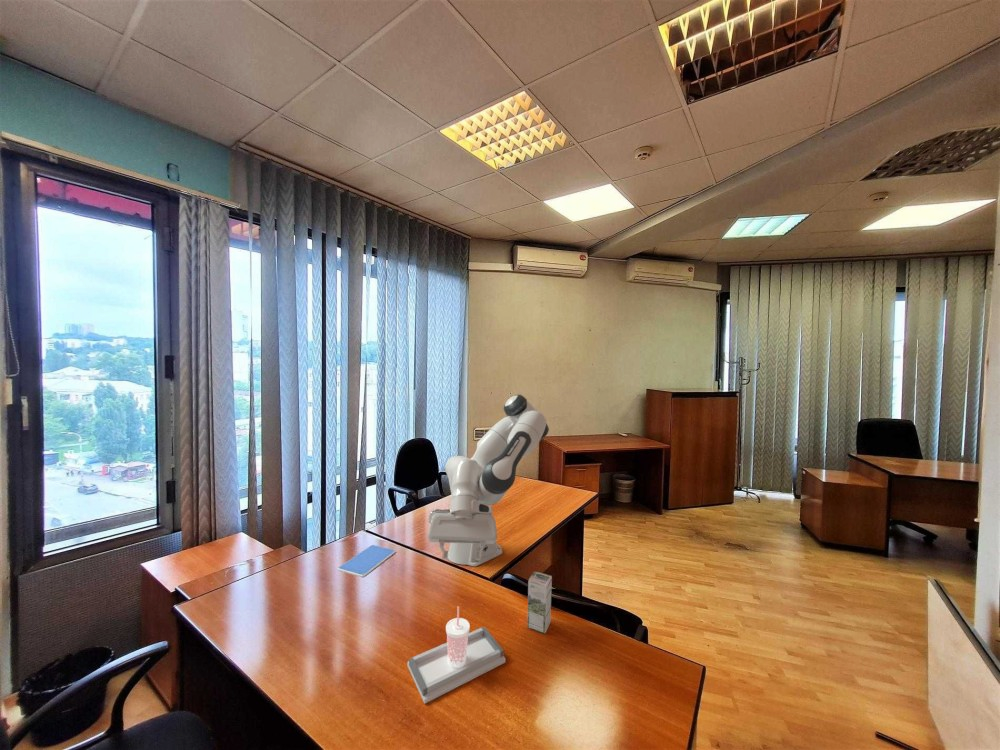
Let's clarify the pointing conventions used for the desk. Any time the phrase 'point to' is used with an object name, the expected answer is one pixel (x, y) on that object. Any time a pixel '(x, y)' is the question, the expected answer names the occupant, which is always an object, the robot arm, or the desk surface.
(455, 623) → the beverage cup
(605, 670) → the desk surface
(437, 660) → the rectangular tray
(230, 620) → the desk surface
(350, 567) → the tablet computer
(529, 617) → the syrup box
